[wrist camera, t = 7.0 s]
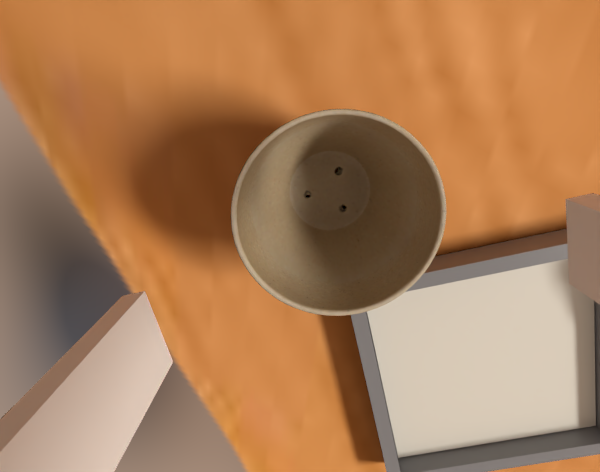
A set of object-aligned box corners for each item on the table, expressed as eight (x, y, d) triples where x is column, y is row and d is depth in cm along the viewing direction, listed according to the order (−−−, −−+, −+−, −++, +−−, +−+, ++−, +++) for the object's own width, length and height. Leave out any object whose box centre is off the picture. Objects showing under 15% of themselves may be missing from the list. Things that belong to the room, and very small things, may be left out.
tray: (342, 275, 27) (344, 289, 25) (603, 220, 25) (628, 230, 23) (385, 462, 32) (390, 486, 30) (604, 427, 31) (625, 449, 29)
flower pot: (336, 290, 27) (344, 351, 21) (220, 197, 26) (188, 231, 19) (443, 181, 25) (493, 211, 18) (324, 69, 23) (329, 56, 16)
